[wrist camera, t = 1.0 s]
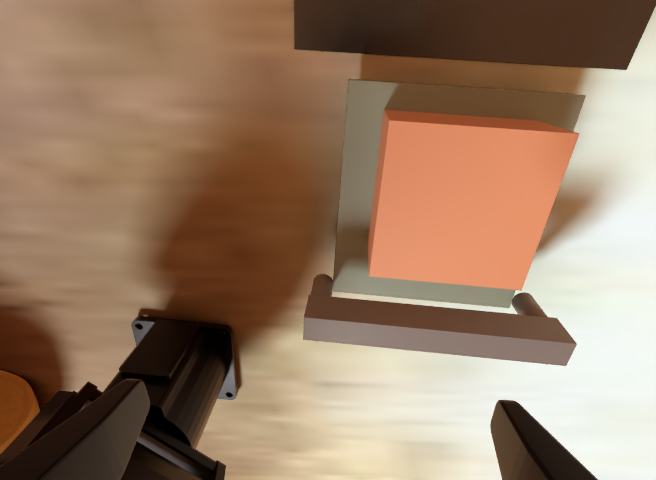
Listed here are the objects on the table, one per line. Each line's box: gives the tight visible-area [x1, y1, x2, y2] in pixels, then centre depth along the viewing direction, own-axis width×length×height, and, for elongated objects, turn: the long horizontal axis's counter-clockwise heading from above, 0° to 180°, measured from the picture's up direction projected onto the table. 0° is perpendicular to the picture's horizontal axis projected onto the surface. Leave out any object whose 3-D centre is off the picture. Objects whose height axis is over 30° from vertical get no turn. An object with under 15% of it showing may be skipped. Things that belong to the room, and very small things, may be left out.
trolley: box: [303, 79, 586, 366], centre depth 15 cm, size 10×11×6 cm
